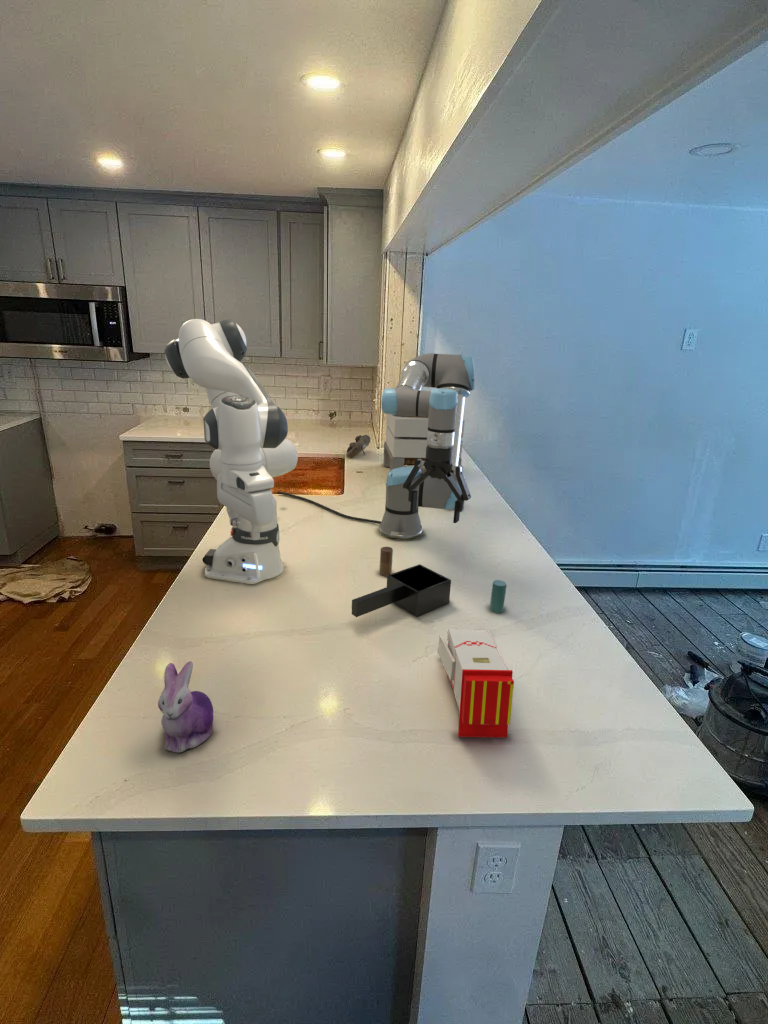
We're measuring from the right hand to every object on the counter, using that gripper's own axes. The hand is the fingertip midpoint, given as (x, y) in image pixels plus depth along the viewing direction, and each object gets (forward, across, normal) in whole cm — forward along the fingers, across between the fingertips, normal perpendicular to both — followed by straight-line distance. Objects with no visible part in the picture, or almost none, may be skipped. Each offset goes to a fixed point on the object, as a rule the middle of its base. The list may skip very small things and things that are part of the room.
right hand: (434, 517), depth 165 cm
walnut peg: (+18, -11, -8) cm, 23 cm away
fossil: (+18, -92, +113) cm, 147 cm away
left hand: (-8, -24, -54) cm, 59 cm away
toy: (+18, +30, -48) cm, 59 cm away
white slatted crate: (+18, -49, +99) cm, 112 cm away
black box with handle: (+18, +1, -25) cm, 31 cm away
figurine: (+18, -10, -86) cm, 89 cm away
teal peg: (+18, +24, -11) cm, 32 cm away
